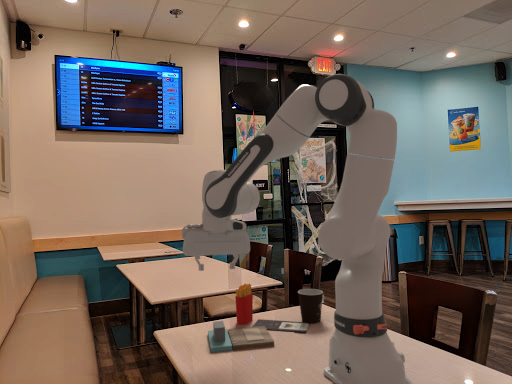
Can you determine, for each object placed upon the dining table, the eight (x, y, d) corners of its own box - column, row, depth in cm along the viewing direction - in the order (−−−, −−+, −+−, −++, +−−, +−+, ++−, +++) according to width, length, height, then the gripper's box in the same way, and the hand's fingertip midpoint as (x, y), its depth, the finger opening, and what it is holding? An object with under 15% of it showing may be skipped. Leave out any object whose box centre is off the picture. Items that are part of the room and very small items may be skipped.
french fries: (244, 317, 138) (243, 281, 138) (255, 318, 136) (254, 282, 136) (233, 325, 130) (232, 287, 130) (244, 327, 128) (243, 288, 128)
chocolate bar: (258, 319, 134) (309, 322, 129) (258, 322, 134) (309, 325, 129) (250, 328, 125) (305, 331, 120) (251, 330, 125) (305, 334, 120)
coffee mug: (313, 326, 126) (312, 296, 126) (293, 320, 133) (292, 292, 133) (334, 318, 134) (333, 290, 134) (314, 313, 141) (314, 286, 141)
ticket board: (274, 346, 110) (274, 340, 110) (233, 350, 108) (233, 344, 108) (264, 330, 124) (264, 325, 124) (227, 333, 122) (227, 328, 122)
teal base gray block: (232, 350, 108) (231, 331, 108) (210, 352, 107) (210, 333, 107) (226, 333, 122) (226, 316, 122) (207, 334, 121) (207, 318, 121)
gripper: (182, 225, 110) (182, 273, 110) (251, 224, 115) (251, 270, 115) (181, 223, 116) (181, 269, 116) (247, 222, 121) (247, 265, 121)
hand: (216, 269), depth 115 cm, fingers open, 8 cm apart
